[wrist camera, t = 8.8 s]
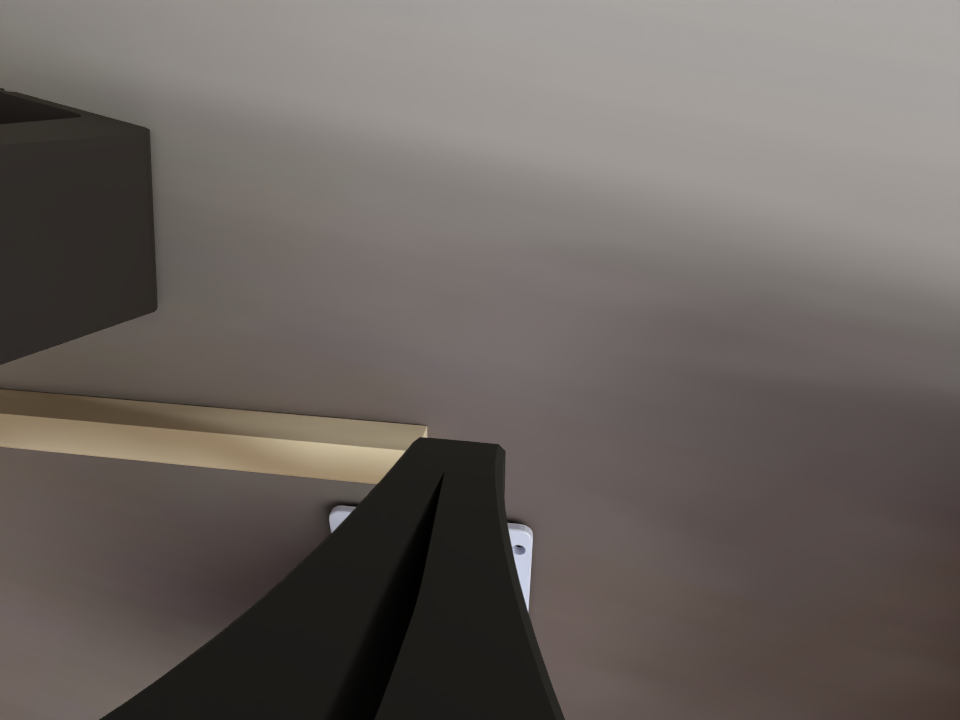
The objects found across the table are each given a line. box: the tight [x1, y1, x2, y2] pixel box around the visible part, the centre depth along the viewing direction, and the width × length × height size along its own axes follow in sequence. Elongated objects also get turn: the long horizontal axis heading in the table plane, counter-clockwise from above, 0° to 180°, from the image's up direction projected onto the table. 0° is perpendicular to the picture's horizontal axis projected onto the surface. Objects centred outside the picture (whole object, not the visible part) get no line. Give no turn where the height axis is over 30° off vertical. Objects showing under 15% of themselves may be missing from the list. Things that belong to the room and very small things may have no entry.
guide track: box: [0, 389, 427, 484], centre depth 18 cm, size 19×22×4 cm
